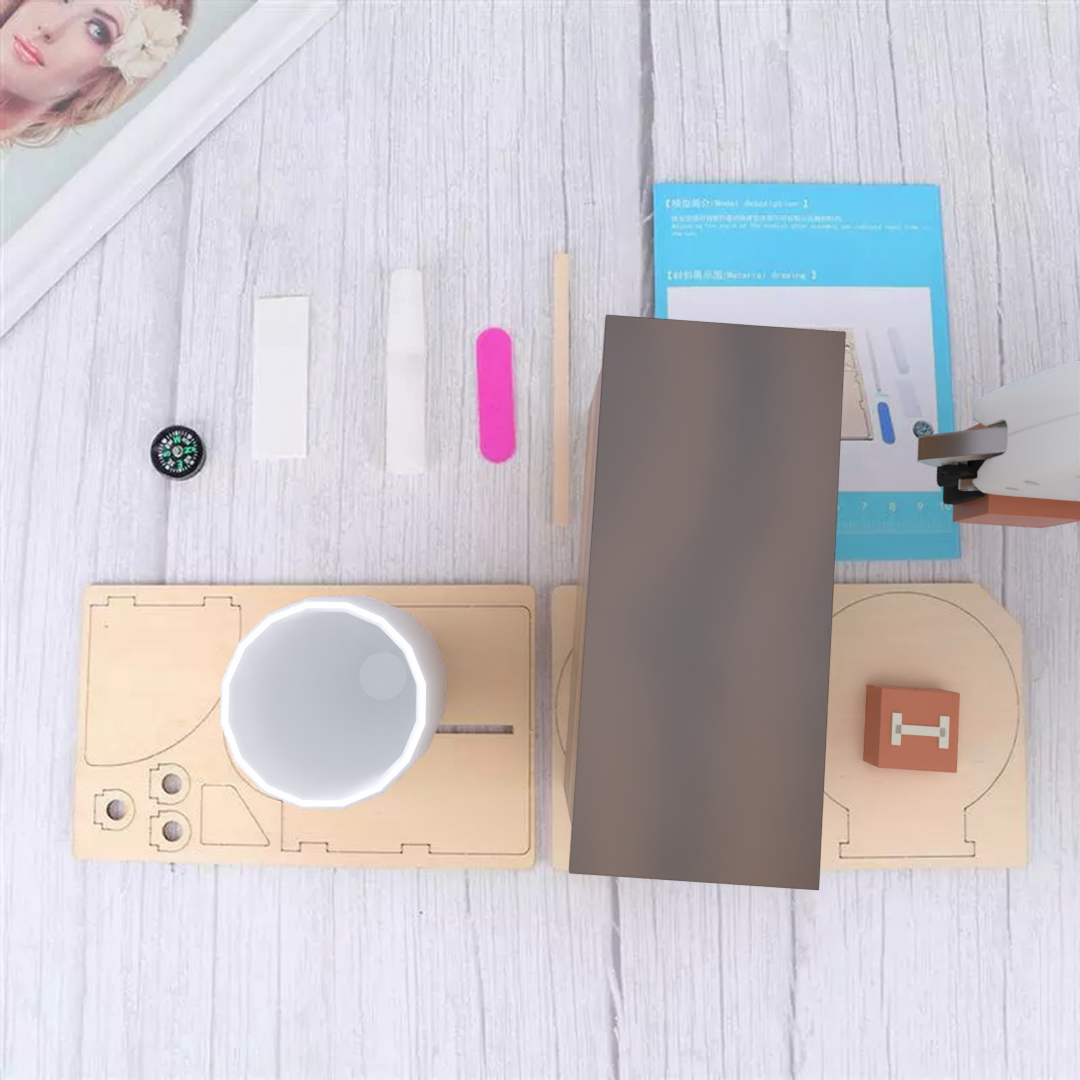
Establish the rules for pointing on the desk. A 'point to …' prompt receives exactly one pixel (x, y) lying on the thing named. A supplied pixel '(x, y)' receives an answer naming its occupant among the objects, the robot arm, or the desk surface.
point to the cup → (332, 700)
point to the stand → (581, 598)
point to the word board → (709, 604)
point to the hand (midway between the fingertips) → (1002, 479)
